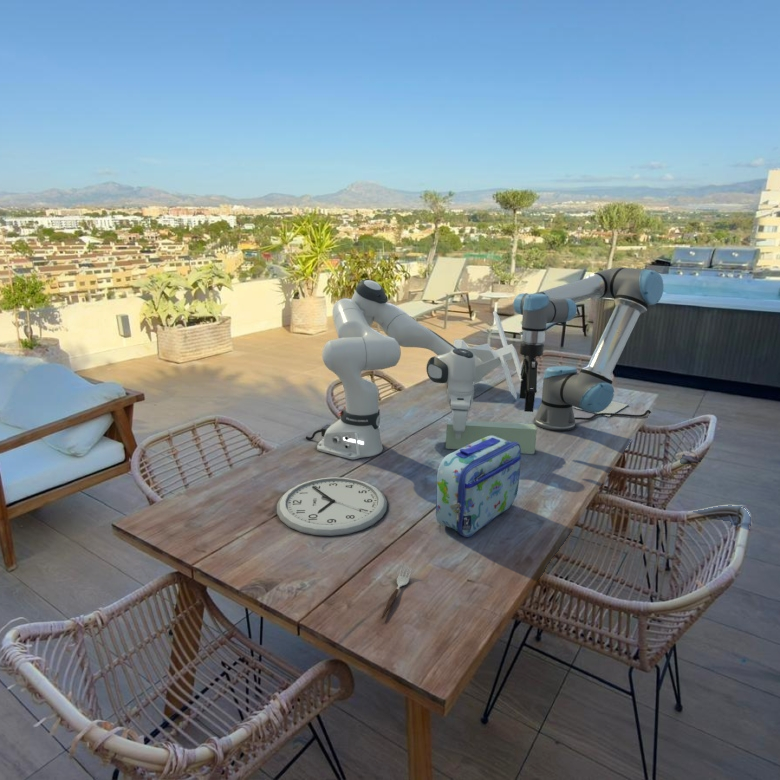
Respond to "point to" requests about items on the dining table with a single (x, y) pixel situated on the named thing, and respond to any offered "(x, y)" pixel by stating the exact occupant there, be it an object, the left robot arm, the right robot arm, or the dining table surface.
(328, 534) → the wall clock
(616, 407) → the invitation card
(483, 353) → the white plastic object
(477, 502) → the lunch box
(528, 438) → the sage box
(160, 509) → the dining table surface
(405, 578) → the fork
